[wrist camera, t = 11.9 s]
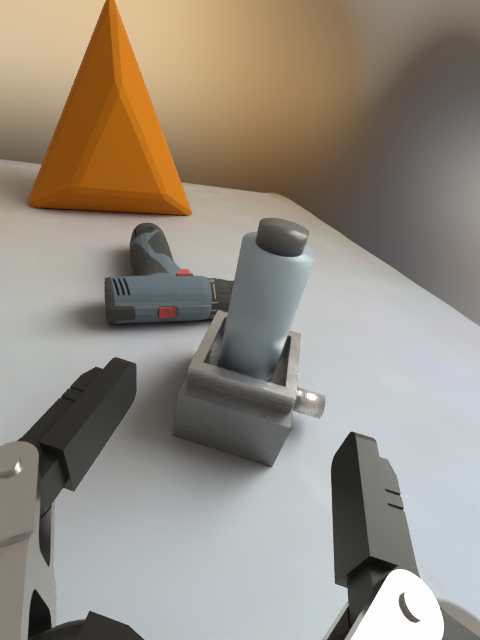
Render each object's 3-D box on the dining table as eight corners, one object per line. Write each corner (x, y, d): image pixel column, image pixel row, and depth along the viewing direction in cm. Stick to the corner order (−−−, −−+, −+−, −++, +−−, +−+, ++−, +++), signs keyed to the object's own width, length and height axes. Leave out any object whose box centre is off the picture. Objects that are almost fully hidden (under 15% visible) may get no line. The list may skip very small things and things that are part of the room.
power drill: (224, 256, 53) (267, 327, 38) (108, 251, 46) (107, 336, 31) (229, 226, 50) (279, 291, 35) (106, 217, 43) (104, 293, 28)
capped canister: (211, 374, 22) (238, 228, 16) (226, 337, 26) (253, 208, 20) (271, 391, 22) (323, 250, 16) (277, 352, 26) (321, 225, 19)
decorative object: (26, 217, 49) (-34, -61, 32) (32, 189, 60) (-11, -32, 43) (199, 224, 63) (222, 29, 45) (178, 200, 73) (191, 35, 56)
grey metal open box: (172, 435, 23) (179, 378, 20) (209, 353, 32) (219, 302, 28) (310, 478, 23) (344, 428, 19) (311, 384, 31) (335, 335, 27)
